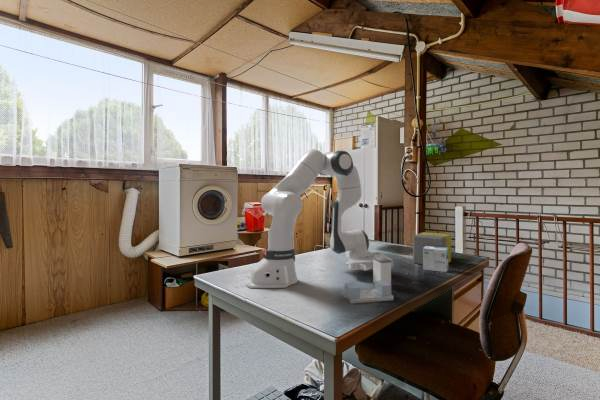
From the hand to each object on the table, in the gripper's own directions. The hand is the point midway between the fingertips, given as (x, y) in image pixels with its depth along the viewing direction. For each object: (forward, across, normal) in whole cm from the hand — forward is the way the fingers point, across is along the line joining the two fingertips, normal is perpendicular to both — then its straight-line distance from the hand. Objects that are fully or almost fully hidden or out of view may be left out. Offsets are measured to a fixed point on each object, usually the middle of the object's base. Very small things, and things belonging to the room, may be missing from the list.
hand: (377, 267), depth 132 cm
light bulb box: (-12, +36, +6) cm, 38 cm away
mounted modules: (+17, -12, +5) cm, 21 cm away
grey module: (+4, 0, +6) cm, 7 cm away
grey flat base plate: (+17, -12, +6) cm, 22 cm away
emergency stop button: (-27, +46, +6) cm, 54 cm away
